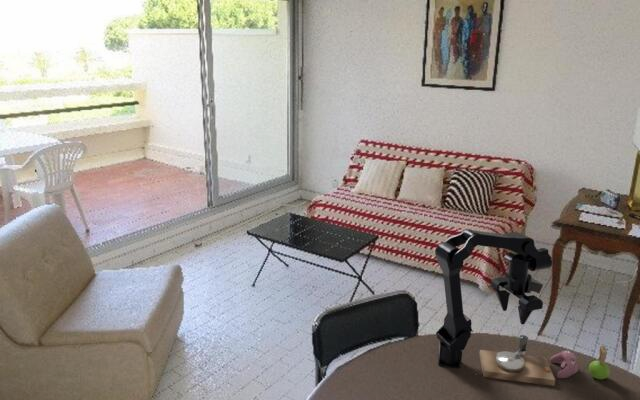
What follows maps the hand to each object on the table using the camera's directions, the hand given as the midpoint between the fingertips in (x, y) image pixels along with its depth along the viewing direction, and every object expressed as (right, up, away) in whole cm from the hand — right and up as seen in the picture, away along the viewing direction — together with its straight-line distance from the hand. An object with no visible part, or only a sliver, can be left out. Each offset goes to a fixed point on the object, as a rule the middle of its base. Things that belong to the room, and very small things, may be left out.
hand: (513, 317), depth 162 cm
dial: (-2, -12, -7) cm, 14 cm away
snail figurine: (+21, -16, -10) cm, 29 cm away
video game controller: (+13, -15, -7) cm, 21 cm away
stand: (-2, -15, -7) cm, 16 cm away
